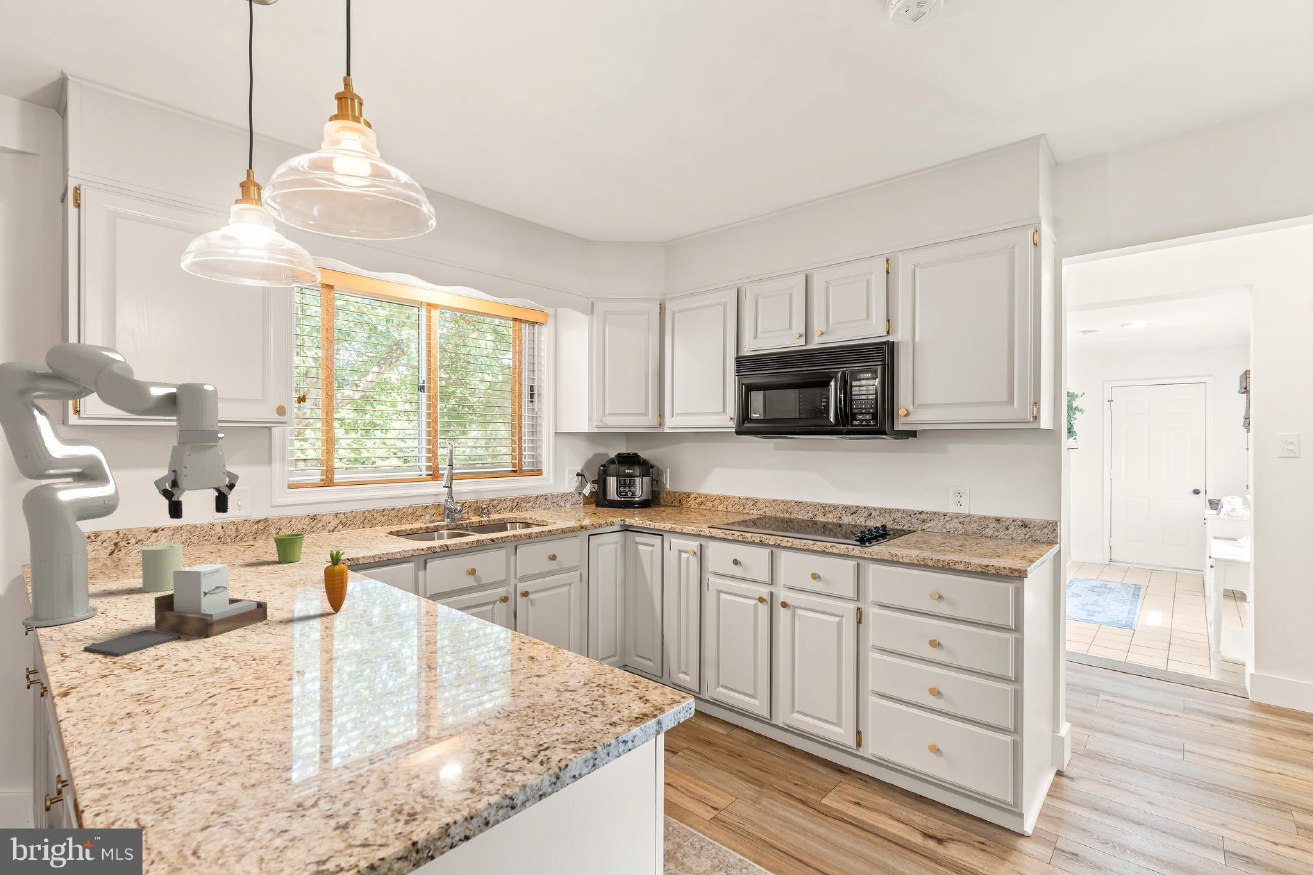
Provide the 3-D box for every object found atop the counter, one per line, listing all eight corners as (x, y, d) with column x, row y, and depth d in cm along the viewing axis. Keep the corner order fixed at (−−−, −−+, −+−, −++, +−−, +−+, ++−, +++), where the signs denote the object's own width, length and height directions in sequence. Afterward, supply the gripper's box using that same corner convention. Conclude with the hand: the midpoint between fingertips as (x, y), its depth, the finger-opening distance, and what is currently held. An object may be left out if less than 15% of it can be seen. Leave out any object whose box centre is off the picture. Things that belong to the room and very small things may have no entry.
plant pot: (287, 558, 211) (286, 532, 211) (312, 558, 210) (311, 533, 210) (266, 564, 202) (265, 537, 202) (292, 564, 201) (292, 537, 201)
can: (166, 592, 167) (165, 547, 167) (132, 592, 168) (131, 548, 167) (192, 583, 177) (191, 541, 176) (160, 584, 177) (159, 542, 177)
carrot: (325, 611, 147) (324, 548, 147) (349, 608, 149) (347, 546, 149) (323, 617, 142) (322, 551, 142) (348, 614, 144) (346, 549, 144)
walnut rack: (155, 629, 135) (154, 597, 135) (216, 612, 147) (215, 583, 147) (208, 637, 129) (207, 604, 129) (267, 619, 141) (266, 588, 141)
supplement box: (201, 629, 135) (199, 571, 135) (172, 627, 136) (171, 570, 136) (230, 619, 142) (229, 563, 142) (203, 617, 144) (202, 563, 143)
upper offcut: (200, 623, 132) (200, 612, 132) (244, 611, 141) (244, 600, 141) (212, 625, 131) (212, 614, 131) (256, 612, 140) (256, 602, 140)
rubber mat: (83, 649, 123) (83, 646, 123) (146, 632, 133) (146, 629, 133) (118, 656, 119) (118, 653, 119) (180, 638, 129) (180, 635, 129)
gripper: (225, 438, 148) (227, 510, 148) (143, 439, 132) (145, 520, 132) (247, 438, 145) (248, 511, 145) (166, 439, 129) (167, 521, 129)
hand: (199, 515), depth 139 cm, fingers open, 9 cm apart
